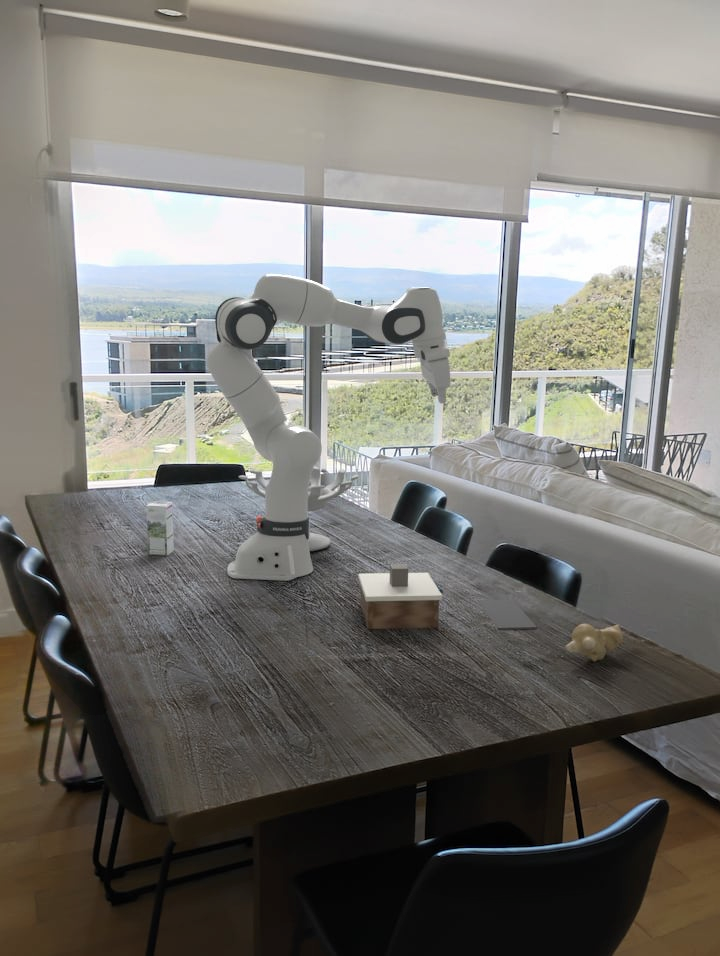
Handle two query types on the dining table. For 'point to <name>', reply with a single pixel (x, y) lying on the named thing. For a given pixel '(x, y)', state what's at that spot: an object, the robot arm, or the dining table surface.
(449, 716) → the dining table surface
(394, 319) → the robot arm
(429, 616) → the walnut box
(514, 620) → the rubber mat
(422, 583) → the lid
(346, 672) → the dining table surface
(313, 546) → the candelabra
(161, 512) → the syrup box
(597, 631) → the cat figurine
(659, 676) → the dining table surface
